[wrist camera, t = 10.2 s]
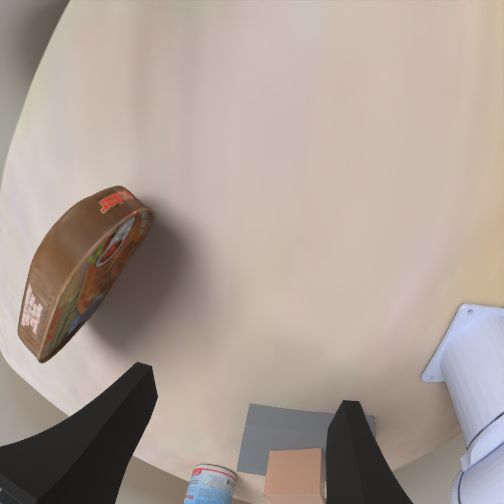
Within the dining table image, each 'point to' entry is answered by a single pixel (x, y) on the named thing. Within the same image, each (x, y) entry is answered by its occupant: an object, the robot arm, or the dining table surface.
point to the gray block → (282, 434)
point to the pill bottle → (210, 485)
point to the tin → (79, 267)
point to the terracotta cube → (295, 477)
